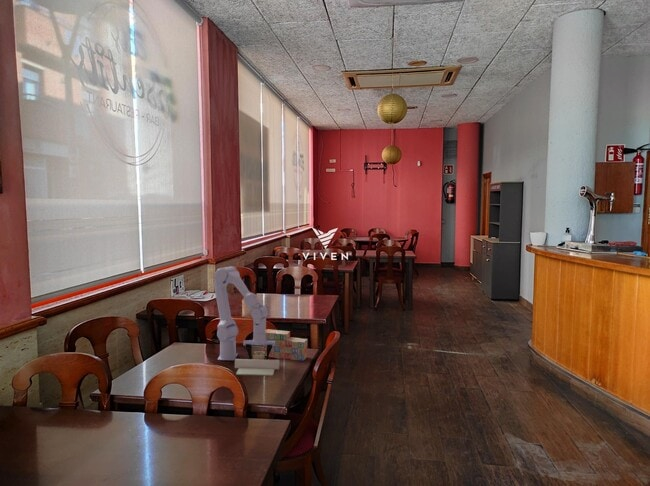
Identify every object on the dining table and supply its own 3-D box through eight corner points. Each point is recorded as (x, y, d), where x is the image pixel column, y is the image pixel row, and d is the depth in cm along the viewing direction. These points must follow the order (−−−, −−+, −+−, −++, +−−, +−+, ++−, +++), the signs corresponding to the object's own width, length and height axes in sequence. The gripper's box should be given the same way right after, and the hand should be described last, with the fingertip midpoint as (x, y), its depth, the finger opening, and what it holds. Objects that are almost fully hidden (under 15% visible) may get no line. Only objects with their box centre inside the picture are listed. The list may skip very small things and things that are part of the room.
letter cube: (254, 361, 209) (254, 351, 209) (264, 362, 209) (265, 351, 209) (252, 365, 204) (253, 354, 204) (263, 365, 204) (263, 354, 204)
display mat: (238, 369, 199) (238, 368, 199) (274, 369, 199) (274, 368, 199) (236, 374, 192) (236, 373, 192) (273, 375, 192) (273, 374, 192)
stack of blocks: (307, 357, 218) (308, 332, 217) (303, 361, 212) (304, 336, 211) (266, 352, 224) (267, 328, 223) (262, 356, 218) (262, 331, 217)
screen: (235, 367, 201) (235, 358, 200) (279, 368, 201) (279, 359, 201) (234, 368, 200) (234, 359, 199) (279, 369, 200) (279, 360, 200)
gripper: (242, 333, 202) (241, 363, 203) (274, 334, 202) (273, 363, 203) (244, 329, 209) (244, 358, 210) (275, 330, 209) (275, 358, 210)
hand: (258, 360), depth 207 cm, fingers open, 7 cm apart
